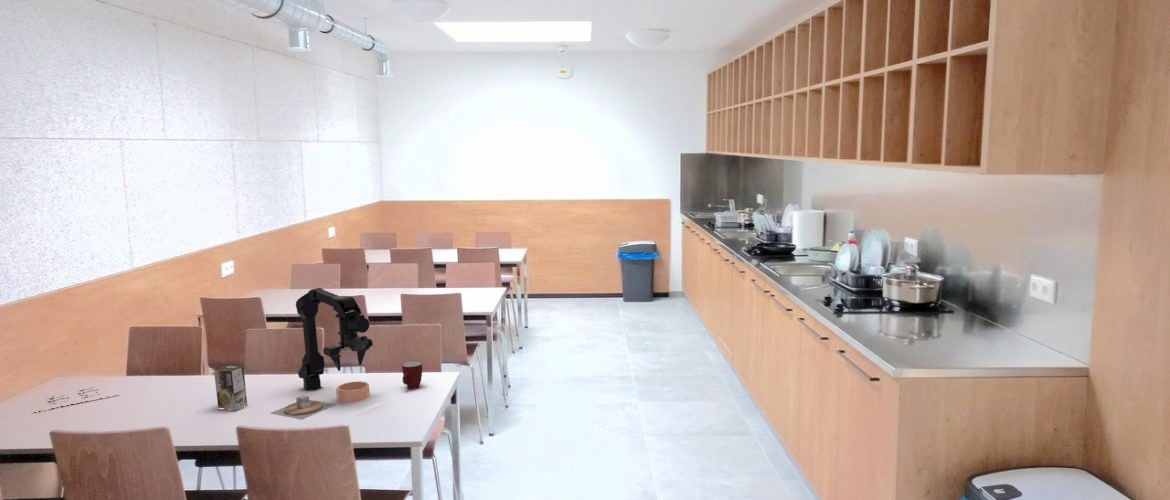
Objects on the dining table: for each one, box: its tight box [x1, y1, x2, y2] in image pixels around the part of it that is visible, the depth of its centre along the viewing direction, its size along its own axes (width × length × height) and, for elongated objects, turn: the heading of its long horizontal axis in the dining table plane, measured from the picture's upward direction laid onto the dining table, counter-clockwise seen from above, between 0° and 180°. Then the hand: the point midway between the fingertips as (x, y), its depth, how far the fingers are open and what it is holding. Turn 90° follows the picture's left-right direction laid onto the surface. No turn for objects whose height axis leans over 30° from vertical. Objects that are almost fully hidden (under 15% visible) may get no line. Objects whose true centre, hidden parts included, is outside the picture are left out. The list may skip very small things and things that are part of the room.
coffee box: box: [213, 365, 248, 411], centre depth 290 cm, size 9×6×16 cm
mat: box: [269, 399, 336, 420], centre depth 285 cm, size 17×17×1 cm
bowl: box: [335, 380, 371, 403], centre depth 297 cm, size 12×12×6 cm
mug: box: [401, 360, 423, 390], centre depth 308 cm, size 10×8×10 cm
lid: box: [283, 394, 323, 415], centre depth 284 cm, size 14×14×5 cm
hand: (349, 367), depth 293 cm, fingers open, 9 cm apart
